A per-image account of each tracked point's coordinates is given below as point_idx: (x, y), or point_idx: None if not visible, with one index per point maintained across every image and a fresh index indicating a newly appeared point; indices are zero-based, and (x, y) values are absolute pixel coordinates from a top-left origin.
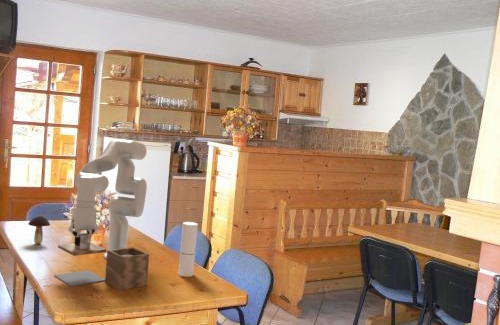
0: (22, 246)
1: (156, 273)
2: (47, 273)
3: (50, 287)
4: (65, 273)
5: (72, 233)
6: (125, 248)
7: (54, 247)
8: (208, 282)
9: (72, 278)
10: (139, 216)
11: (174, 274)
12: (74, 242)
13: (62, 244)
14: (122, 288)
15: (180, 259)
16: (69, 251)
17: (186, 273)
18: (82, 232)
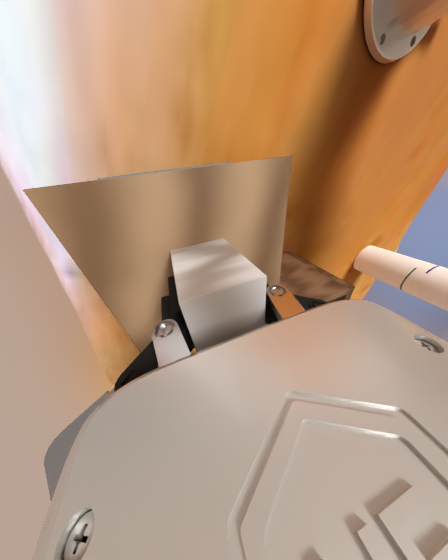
0: None
1: (339, 240)
2: (60, 119)
3: (91, 285)
4: (144, 173)
5: (131, 371)
6: (330, 297)
7: None
8: (351, 296)
9: None
10: None
11: (353, 253)
12: (161, 298)
13: (72, 184)
14: None
15: (388, 271)
16: (128, 331)
17: (360, 271)
18: (244, 294)
